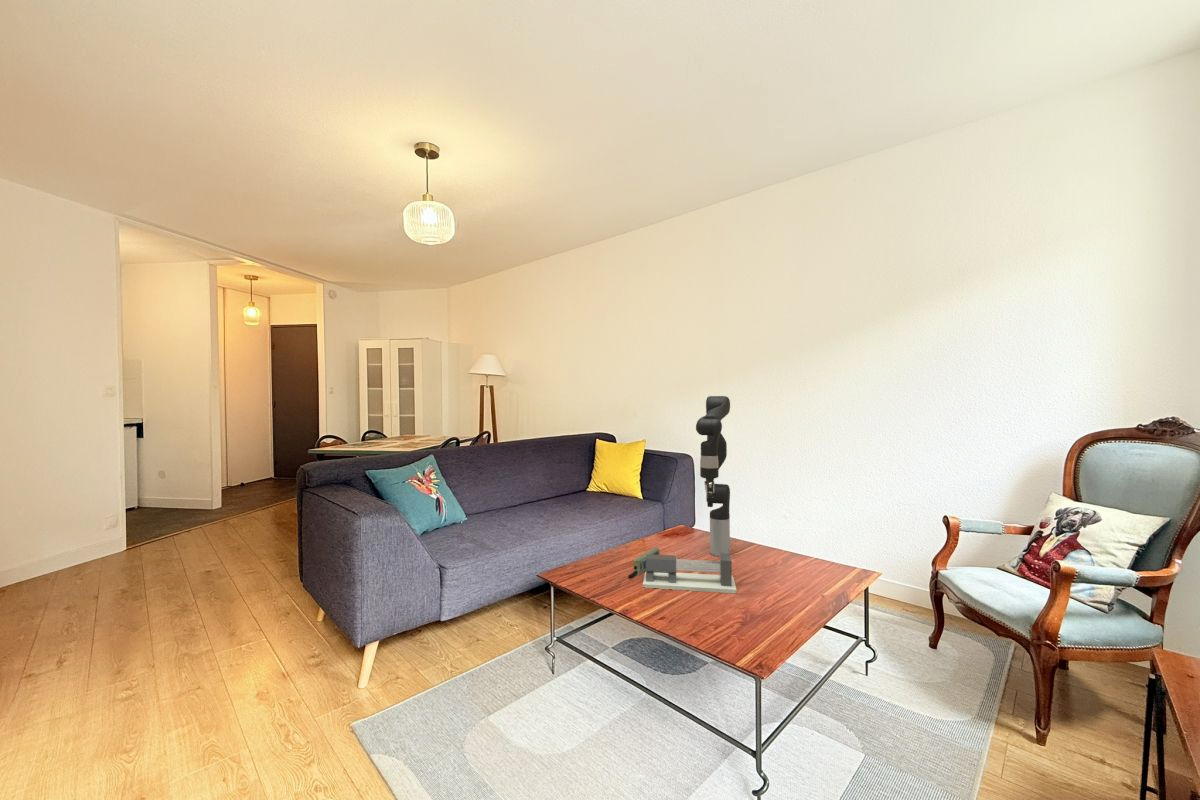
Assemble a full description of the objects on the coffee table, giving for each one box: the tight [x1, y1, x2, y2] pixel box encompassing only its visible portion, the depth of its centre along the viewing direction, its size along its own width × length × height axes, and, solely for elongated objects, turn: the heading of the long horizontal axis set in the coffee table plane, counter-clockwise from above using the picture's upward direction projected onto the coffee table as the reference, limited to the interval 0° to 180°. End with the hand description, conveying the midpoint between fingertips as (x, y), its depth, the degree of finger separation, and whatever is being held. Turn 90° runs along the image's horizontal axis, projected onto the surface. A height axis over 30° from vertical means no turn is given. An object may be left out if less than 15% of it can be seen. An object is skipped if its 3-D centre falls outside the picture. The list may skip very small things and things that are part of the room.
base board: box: [642, 571, 738, 594], centre depth 193 cm, size 14×36×2 cm, turn 80°
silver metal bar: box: [676, 558, 721, 574], centre depth 192 cm, size 3×24×3 cm, turn 80°
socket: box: [719, 553, 733, 586], centre depth 190 cm, size 8×4×10 cm, turn 170°
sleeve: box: [645, 554, 677, 583], centre depth 195 cm, size 8×12×9 cm, turn 80°
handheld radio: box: [627, 546, 661, 579], centre depth 209 cm, size 7×3×25 cm
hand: (709, 504), depth 201 cm, fingers open, 8 cm apart
